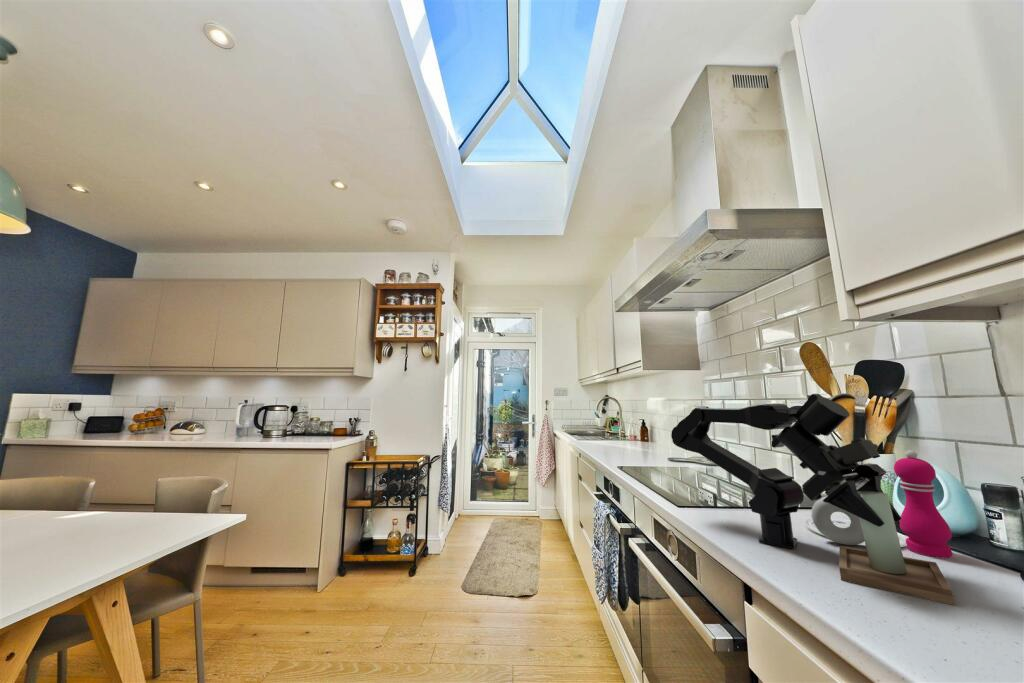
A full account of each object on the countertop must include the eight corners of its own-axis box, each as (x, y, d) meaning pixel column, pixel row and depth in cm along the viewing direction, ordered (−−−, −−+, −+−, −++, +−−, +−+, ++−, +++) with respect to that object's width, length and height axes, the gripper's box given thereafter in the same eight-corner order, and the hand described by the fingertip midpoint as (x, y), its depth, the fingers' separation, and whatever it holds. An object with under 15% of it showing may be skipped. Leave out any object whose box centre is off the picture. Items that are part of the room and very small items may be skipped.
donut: (875, 547, 79) (867, 497, 80) (877, 552, 76) (868, 500, 78) (814, 537, 85) (808, 491, 87) (814, 541, 82) (807, 494, 84)
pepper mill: (900, 542, 81) (884, 447, 84) (951, 550, 77) (931, 449, 80) (906, 553, 76) (888, 451, 79) (961, 562, 71) (939, 453, 74)
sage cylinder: (863, 564, 68) (847, 491, 71) (891, 564, 68) (874, 490, 71) (884, 573, 64) (865, 496, 67) (914, 574, 63) (894, 495, 66)
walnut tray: (841, 556, 75) (839, 545, 75) (938, 574, 66) (935, 562, 67) (841, 579, 65) (839, 567, 65) (954, 605, 57) (952, 590, 57)
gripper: (811, 426, 70) (902, 502, 58) (865, 422, 77) (955, 489, 65) (773, 464, 75) (848, 540, 64) (826, 457, 83) (902, 524, 71)
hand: (890, 522), depth 66 cm, fingers open, 6 cm apart
